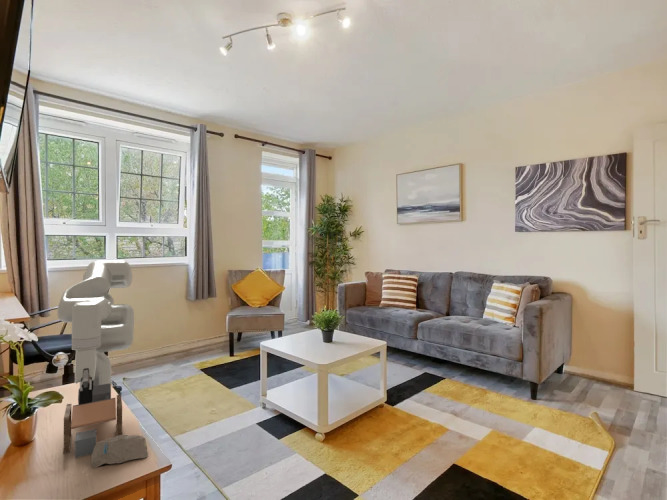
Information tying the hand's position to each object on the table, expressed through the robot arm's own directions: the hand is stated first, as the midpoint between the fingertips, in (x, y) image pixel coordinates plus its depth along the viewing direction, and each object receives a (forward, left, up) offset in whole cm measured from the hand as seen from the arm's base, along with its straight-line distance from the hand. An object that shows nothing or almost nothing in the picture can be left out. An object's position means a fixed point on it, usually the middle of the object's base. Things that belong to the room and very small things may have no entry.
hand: (86, 396), depth 110 cm
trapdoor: (-6, +2, -7) cm, 9 cm away
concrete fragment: (+14, +9, -15) cm, 22 cm away
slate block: (+3, 0, -12) cm, 12 cm away
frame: (-2, +2, -14) cm, 15 cm away
